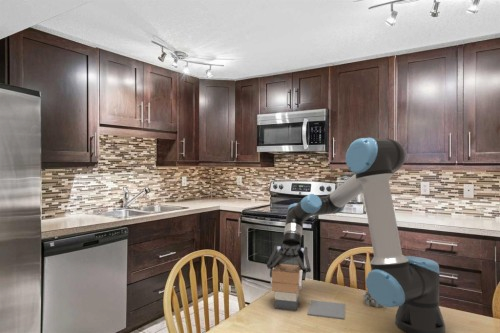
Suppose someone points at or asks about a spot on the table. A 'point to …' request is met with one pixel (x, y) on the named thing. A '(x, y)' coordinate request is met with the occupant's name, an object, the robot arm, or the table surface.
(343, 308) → the rubber mat
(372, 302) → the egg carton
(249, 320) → the table surface
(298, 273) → the wooden block stack
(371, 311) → the table surface
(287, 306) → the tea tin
